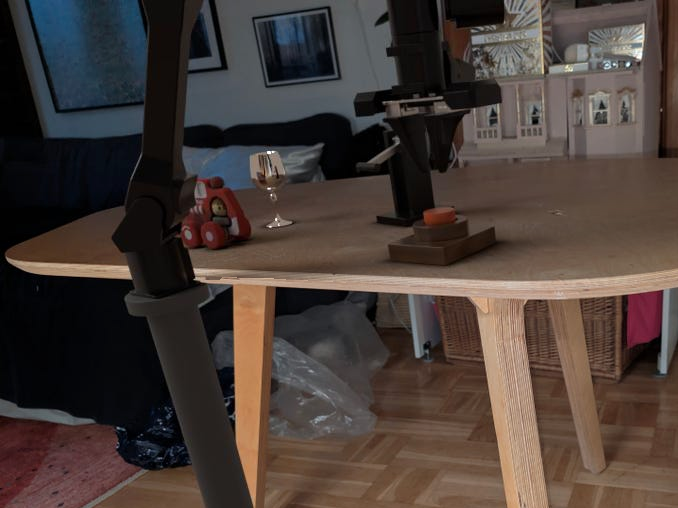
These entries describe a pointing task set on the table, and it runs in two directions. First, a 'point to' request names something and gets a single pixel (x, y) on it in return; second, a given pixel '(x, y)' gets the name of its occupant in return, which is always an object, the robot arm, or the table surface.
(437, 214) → the button
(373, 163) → the lever
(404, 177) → the bracket
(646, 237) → the table surface
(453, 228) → the button block
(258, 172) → the wineglass
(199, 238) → the toy fire truck
